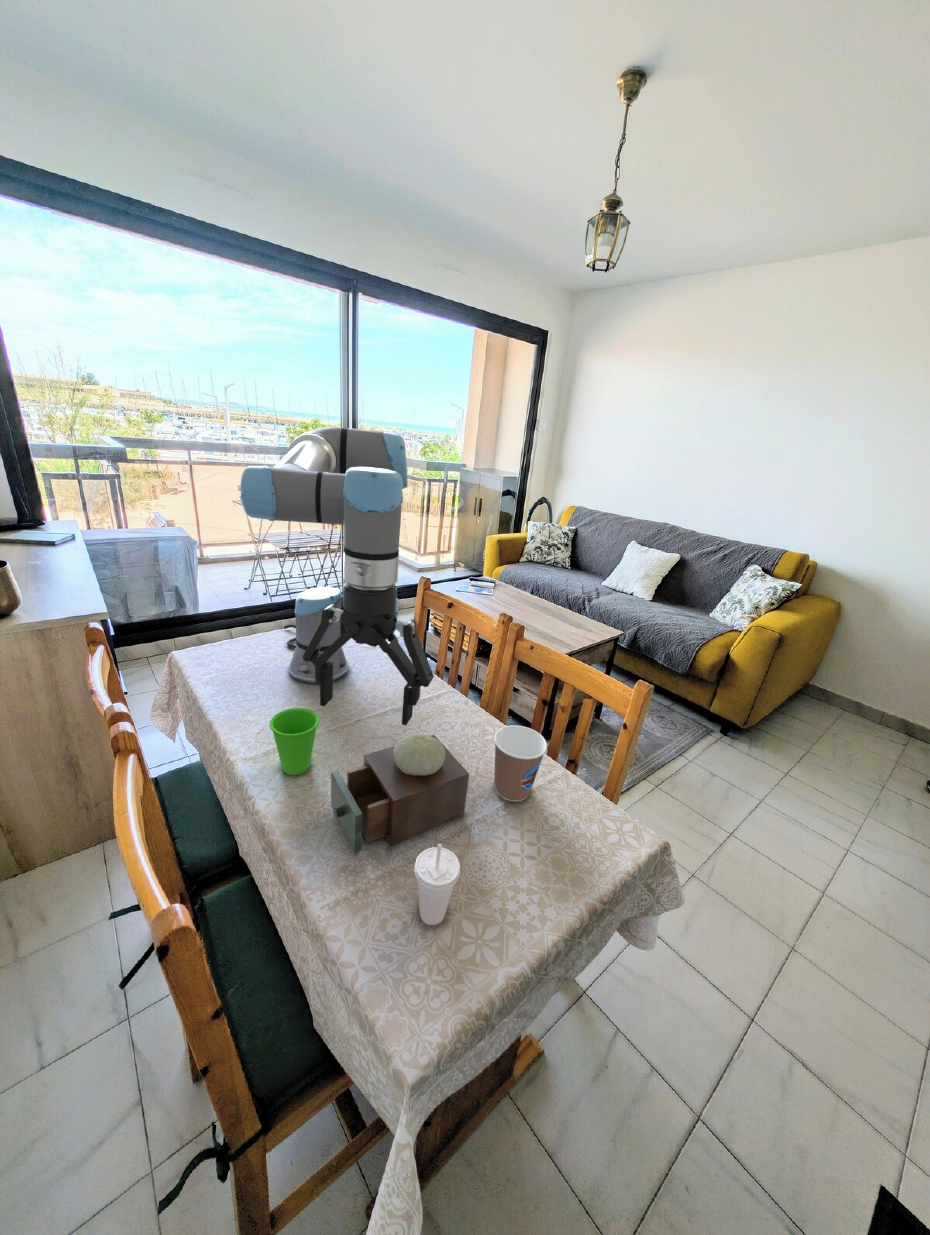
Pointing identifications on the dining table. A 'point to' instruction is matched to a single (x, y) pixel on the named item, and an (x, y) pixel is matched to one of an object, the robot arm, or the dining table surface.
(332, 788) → the drawer
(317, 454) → the robot arm
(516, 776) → the coffee cup
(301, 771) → the cup
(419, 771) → the sea urchin shell
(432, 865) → the smoothie
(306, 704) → the dining table surface
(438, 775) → the cabinet
